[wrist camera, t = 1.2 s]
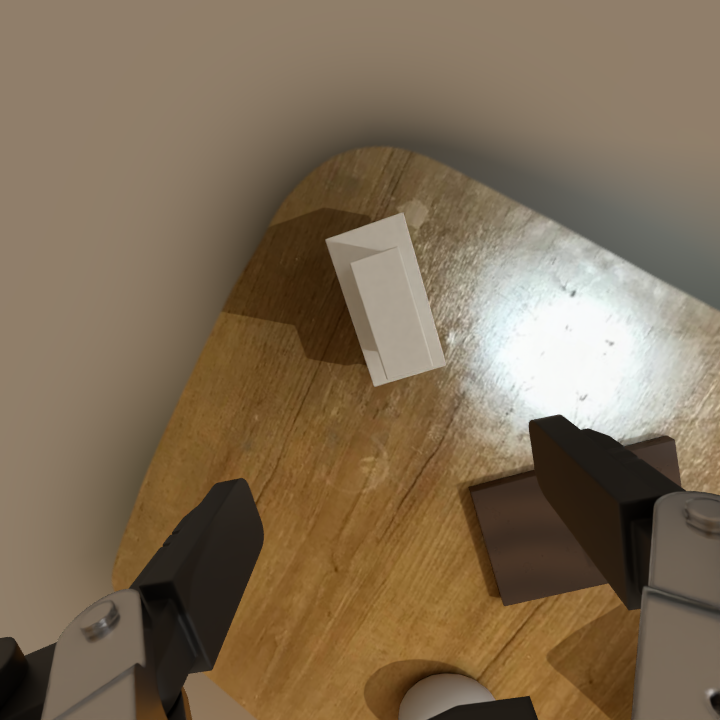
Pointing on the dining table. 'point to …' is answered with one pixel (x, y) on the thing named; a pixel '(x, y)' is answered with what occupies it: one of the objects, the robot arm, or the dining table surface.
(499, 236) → the dining table surface
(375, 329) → the white stepped wedge block
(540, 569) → the board
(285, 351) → the dining table surface
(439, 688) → the donut
